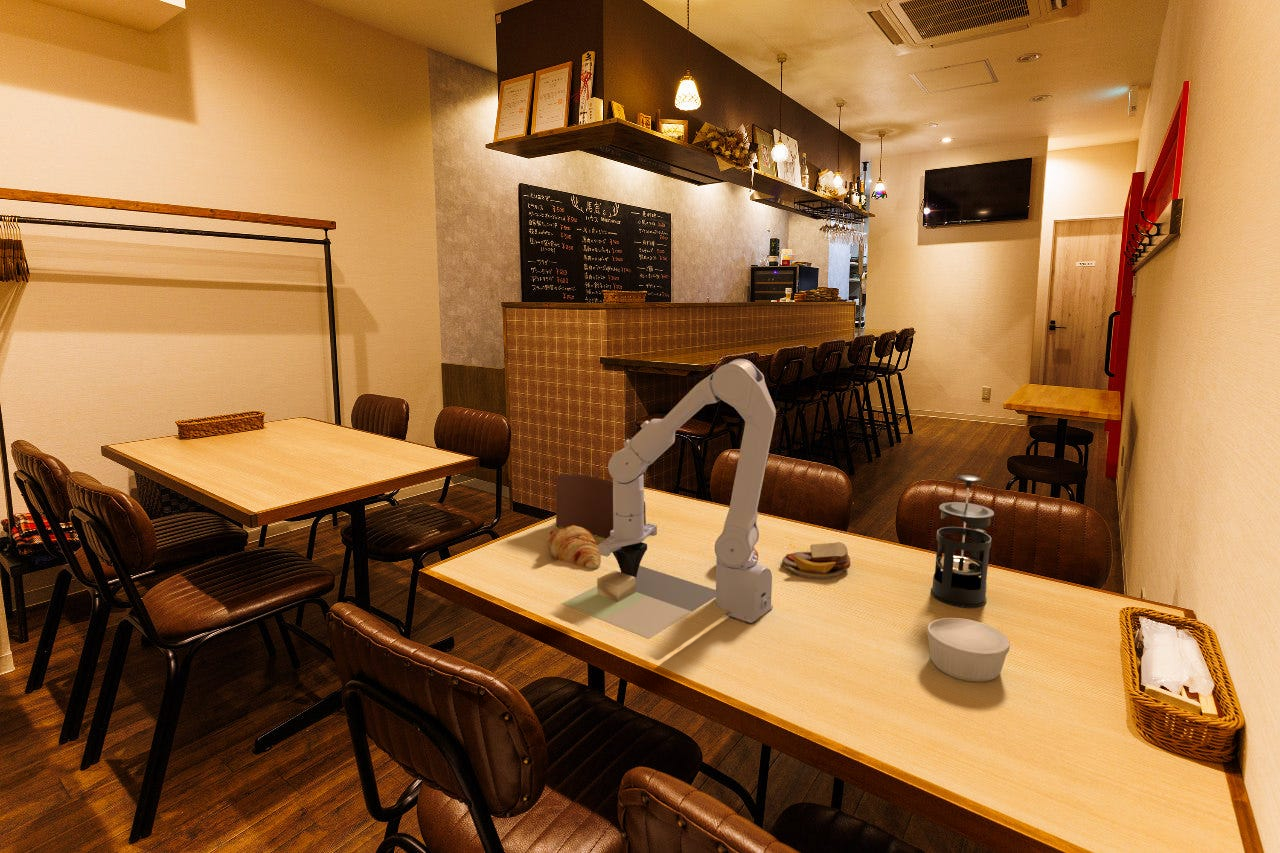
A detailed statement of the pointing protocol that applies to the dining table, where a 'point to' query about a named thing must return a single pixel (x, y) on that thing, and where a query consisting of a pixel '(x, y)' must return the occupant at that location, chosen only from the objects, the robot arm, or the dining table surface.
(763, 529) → the dining table surface
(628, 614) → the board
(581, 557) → the croissant
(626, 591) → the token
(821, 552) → the toy sandwich meal
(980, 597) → the french press
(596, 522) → the letter holder
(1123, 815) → the dining table surface
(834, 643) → the dining table surface
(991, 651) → the ramekin
